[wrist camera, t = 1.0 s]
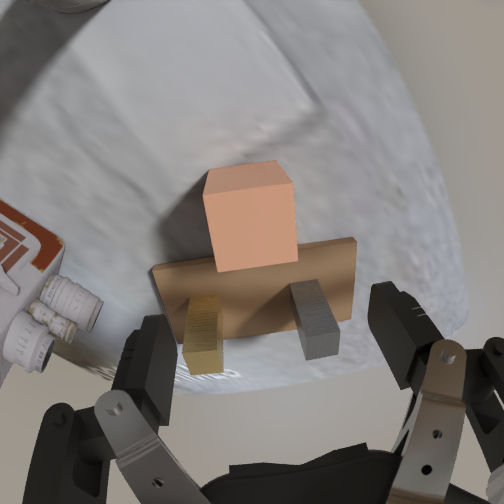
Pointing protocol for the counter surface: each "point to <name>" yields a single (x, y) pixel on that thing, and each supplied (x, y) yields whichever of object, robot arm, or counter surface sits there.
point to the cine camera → (36, 294)
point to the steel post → (314, 320)
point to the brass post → (204, 335)
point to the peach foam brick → (251, 216)
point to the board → (259, 288)
